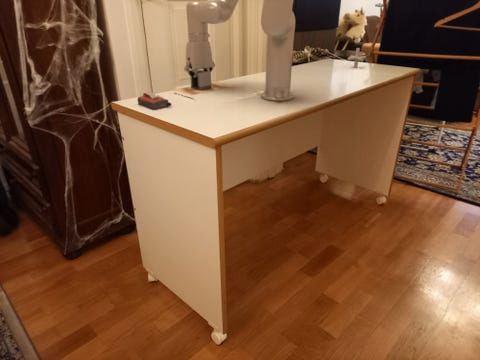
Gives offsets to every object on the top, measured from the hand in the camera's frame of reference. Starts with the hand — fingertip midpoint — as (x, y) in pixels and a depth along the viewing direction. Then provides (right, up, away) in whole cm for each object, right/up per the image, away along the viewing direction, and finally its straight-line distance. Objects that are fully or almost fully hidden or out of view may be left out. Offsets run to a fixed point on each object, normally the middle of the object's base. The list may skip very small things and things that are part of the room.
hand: (201, 85), depth 142 cm
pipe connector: (+78, +22, +47) cm, 94 cm away
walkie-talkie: (-17, -11, -13) cm, 24 cm away
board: (+1, -2, +2) cm, 3 cm away
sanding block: (0, -1, +1) cm, 1 cm away
